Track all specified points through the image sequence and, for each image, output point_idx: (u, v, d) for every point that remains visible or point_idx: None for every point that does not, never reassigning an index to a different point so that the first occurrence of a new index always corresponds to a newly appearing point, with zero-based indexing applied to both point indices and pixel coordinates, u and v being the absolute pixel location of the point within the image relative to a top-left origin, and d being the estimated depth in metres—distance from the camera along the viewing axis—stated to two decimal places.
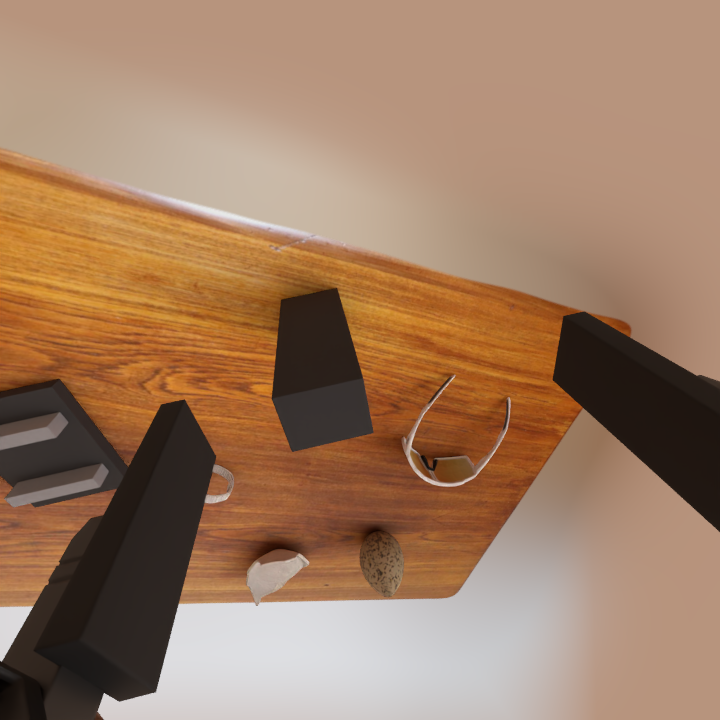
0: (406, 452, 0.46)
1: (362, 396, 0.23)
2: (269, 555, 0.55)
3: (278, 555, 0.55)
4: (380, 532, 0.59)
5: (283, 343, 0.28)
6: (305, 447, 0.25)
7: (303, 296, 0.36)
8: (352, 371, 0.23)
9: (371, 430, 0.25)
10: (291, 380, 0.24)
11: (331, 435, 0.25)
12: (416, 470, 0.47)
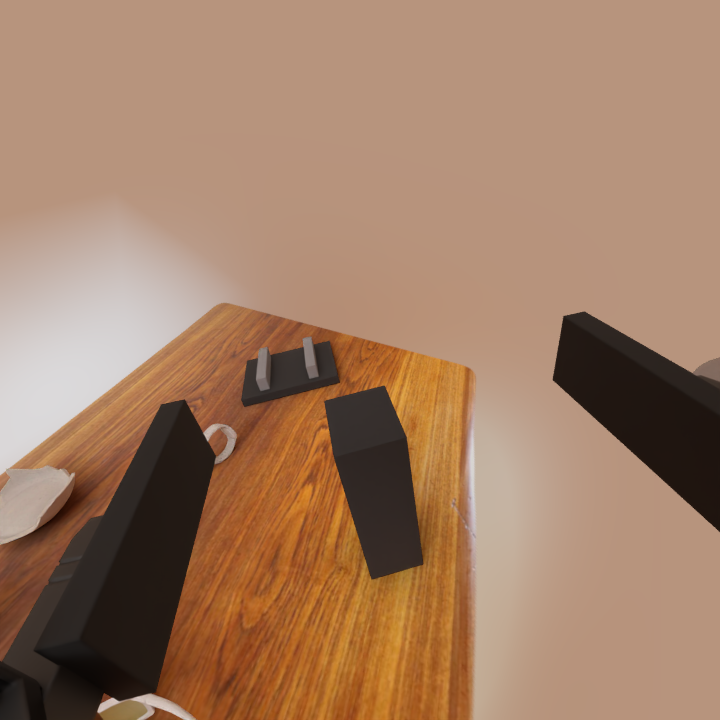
0: None
1: (384, 440, 0.23)
2: (70, 491, 0.44)
3: (63, 498, 0.43)
4: None
5: None
6: (327, 408, 0.27)
7: None
8: None
9: (338, 454, 0.23)
10: None
11: (338, 423, 0.26)
12: None
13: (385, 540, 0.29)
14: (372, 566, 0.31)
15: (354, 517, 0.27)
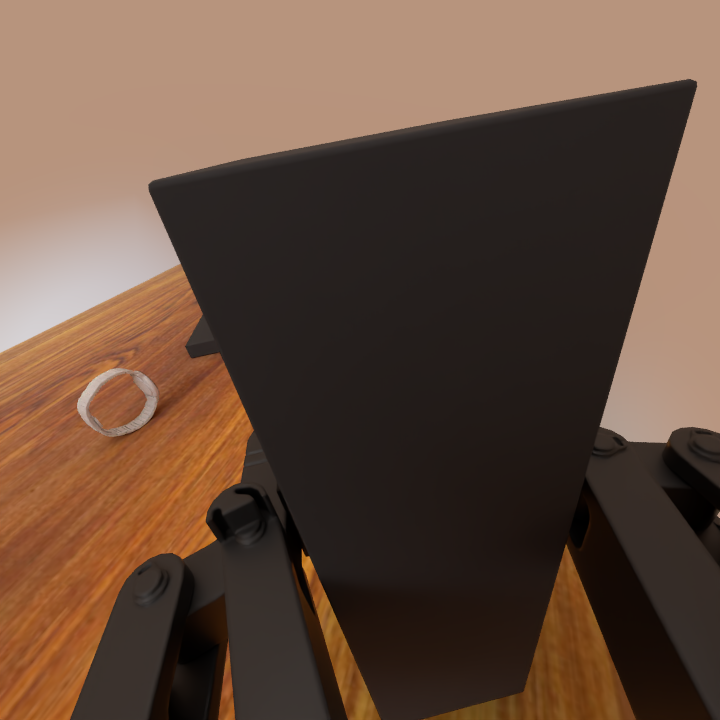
0: None
1: (529, 108, 0.03)
2: None
3: None
4: None
5: None
6: None
7: None
8: None
9: (184, 174, 0.03)
10: None
11: (259, 157, 0.05)
12: None
13: (438, 650, 0.09)
14: (389, 706, 0.11)
15: (330, 587, 0.07)
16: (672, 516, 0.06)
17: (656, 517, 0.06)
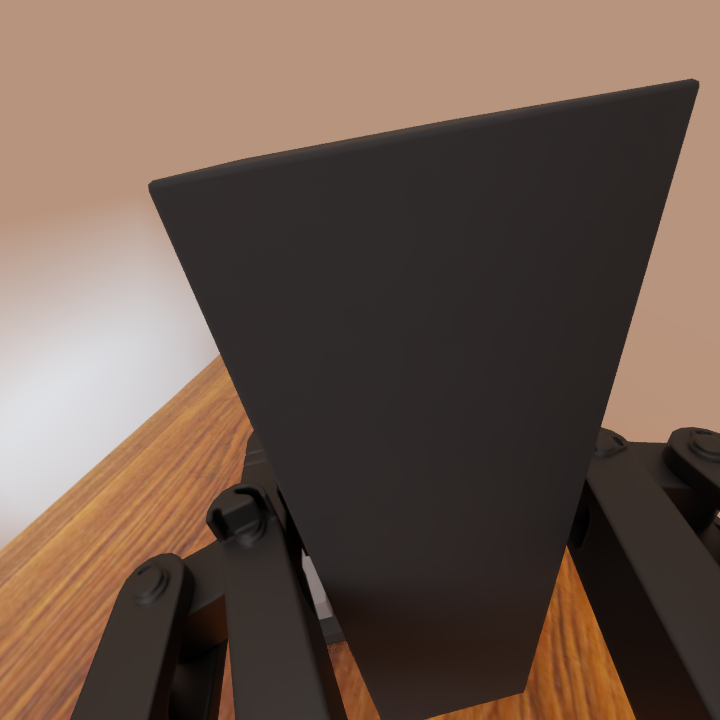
0: None
1: (532, 107, 0.03)
2: None
3: None
4: None
5: None
6: (241, 159, 0.07)
7: None
8: None
9: (184, 174, 0.03)
10: None
11: (259, 157, 0.05)
12: None
13: (438, 651, 0.09)
14: (389, 707, 0.11)
15: (330, 588, 0.07)
16: (672, 516, 0.06)
17: (656, 517, 0.06)
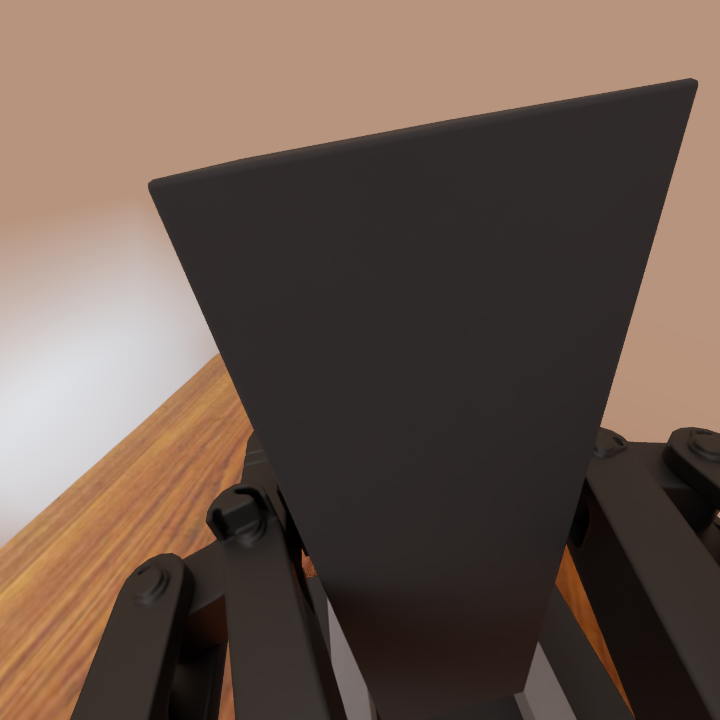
0: None
1: (529, 107, 0.03)
2: None
3: None
4: None
5: None
6: (240, 159, 0.07)
7: None
8: None
9: (184, 174, 0.03)
10: None
11: (259, 156, 0.05)
12: None
13: (438, 650, 0.09)
14: (389, 707, 0.11)
15: (330, 587, 0.07)
16: (672, 516, 0.06)
17: (656, 517, 0.06)
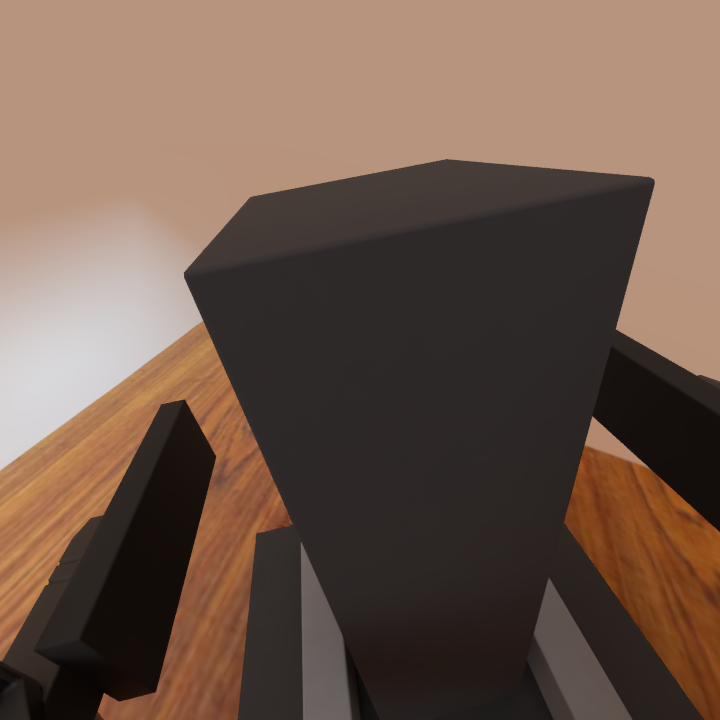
0: None
1: (512, 199, 0.04)
2: None
3: None
4: None
5: None
6: (250, 201, 0.08)
7: None
8: None
9: (214, 262, 0.04)
10: None
11: (270, 210, 0.06)
12: None
13: (434, 657, 0.10)
14: (388, 710, 0.11)
15: (334, 601, 0.07)
16: None
17: None
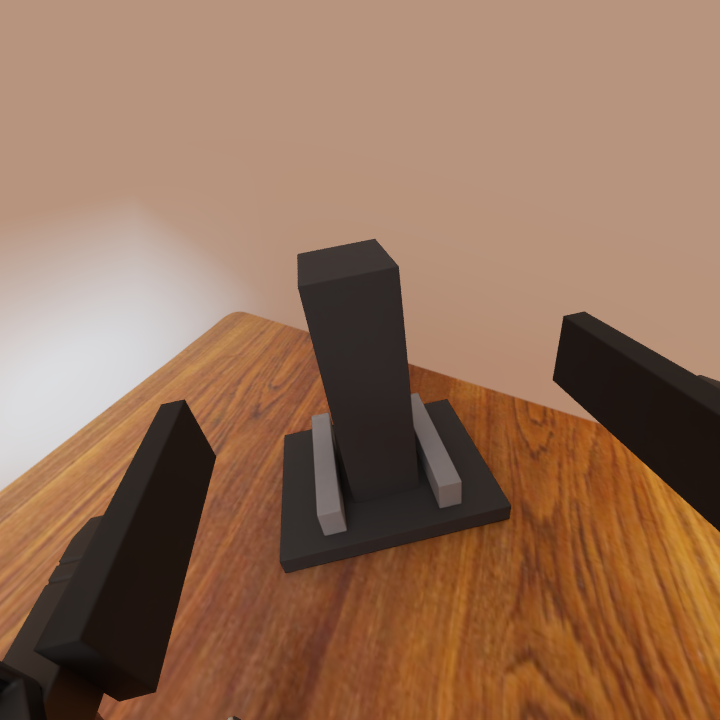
0: None
1: (368, 270, 0.17)
2: None
3: None
4: None
5: None
6: (299, 257, 0.21)
7: None
8: None
9: (304, 284, 0.17)
10: None
11: (310, 265, 0.19)
12: None
13: (371, 443, 0.23)
14: (354, 482, 0.25)
15: (329, 398, 0.21)
16: None
17: None
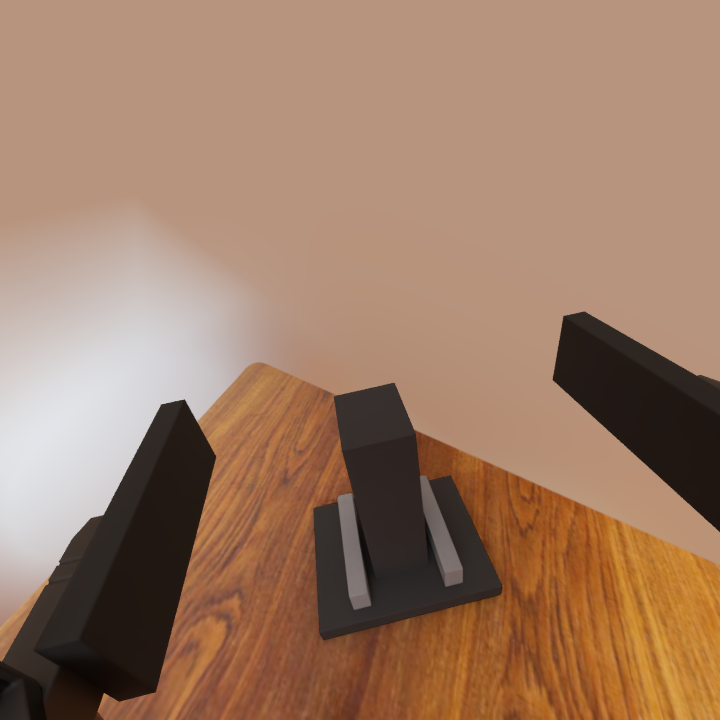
0: None
1: (393, 436, 0.23)
2: None
3: None
4: None
5: None
6: (336, 403, 0.27)
7: None
8: None
9: (346, 448, 0.23)
10: None
11: (347, 418, 0.25)
12: None
13: (391, 539, 0.29)
14: (377, 565, 0.31)
15: (360, 514, 0.27)
16: None
17: None
